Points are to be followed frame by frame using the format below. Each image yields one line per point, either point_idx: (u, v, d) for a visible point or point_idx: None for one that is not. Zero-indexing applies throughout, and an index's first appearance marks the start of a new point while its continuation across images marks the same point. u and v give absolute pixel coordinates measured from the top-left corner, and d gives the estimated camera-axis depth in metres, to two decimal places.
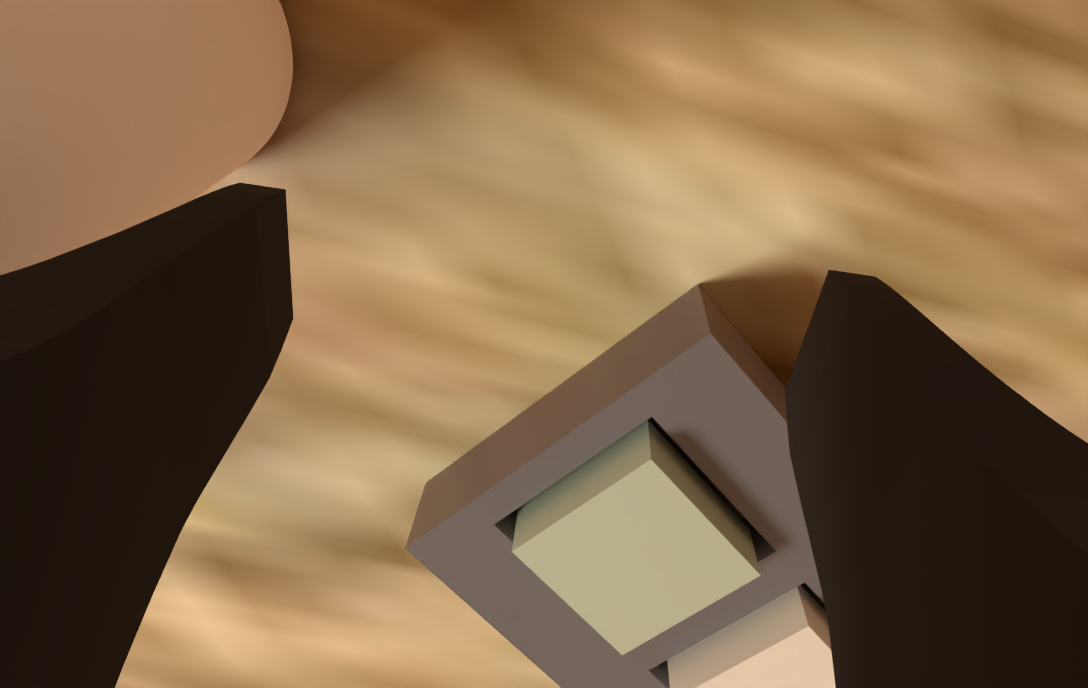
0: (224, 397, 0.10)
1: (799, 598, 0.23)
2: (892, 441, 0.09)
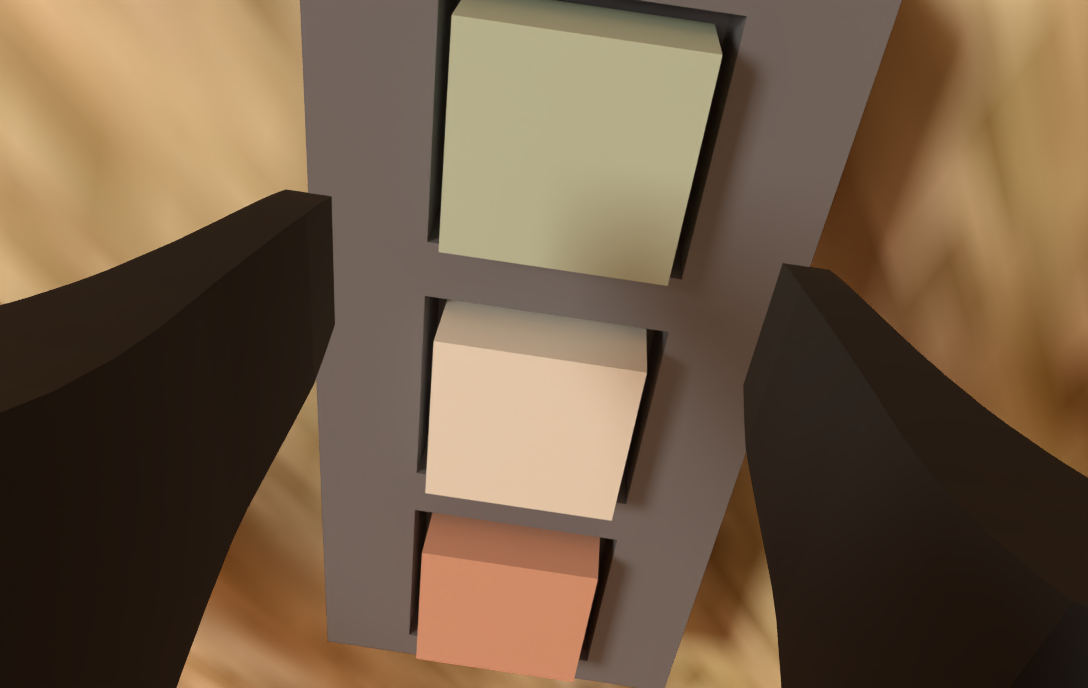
0: (274, 405, 0.10)
1: (645, 343, 0.19)
2: (834, 432, 0.09)
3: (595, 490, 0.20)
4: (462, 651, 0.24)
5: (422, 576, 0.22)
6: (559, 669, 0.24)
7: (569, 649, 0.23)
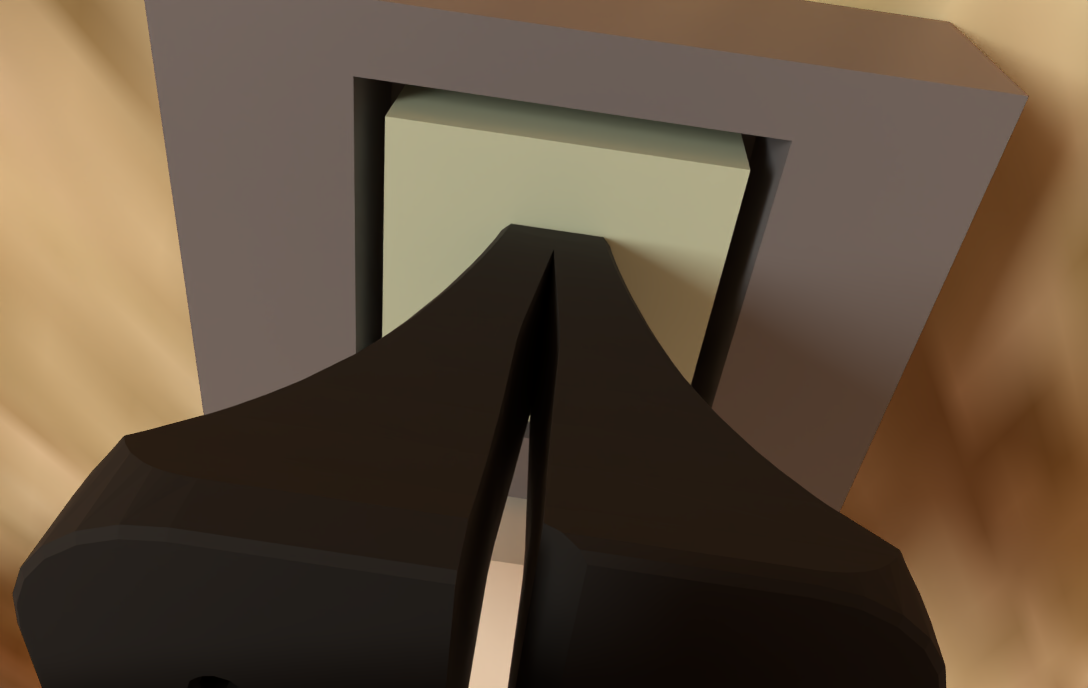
0: (517, 441, 0.10)
1: None
2: (549, 390, 0.09)
3: None
4: None
5: None
6: None
7: None
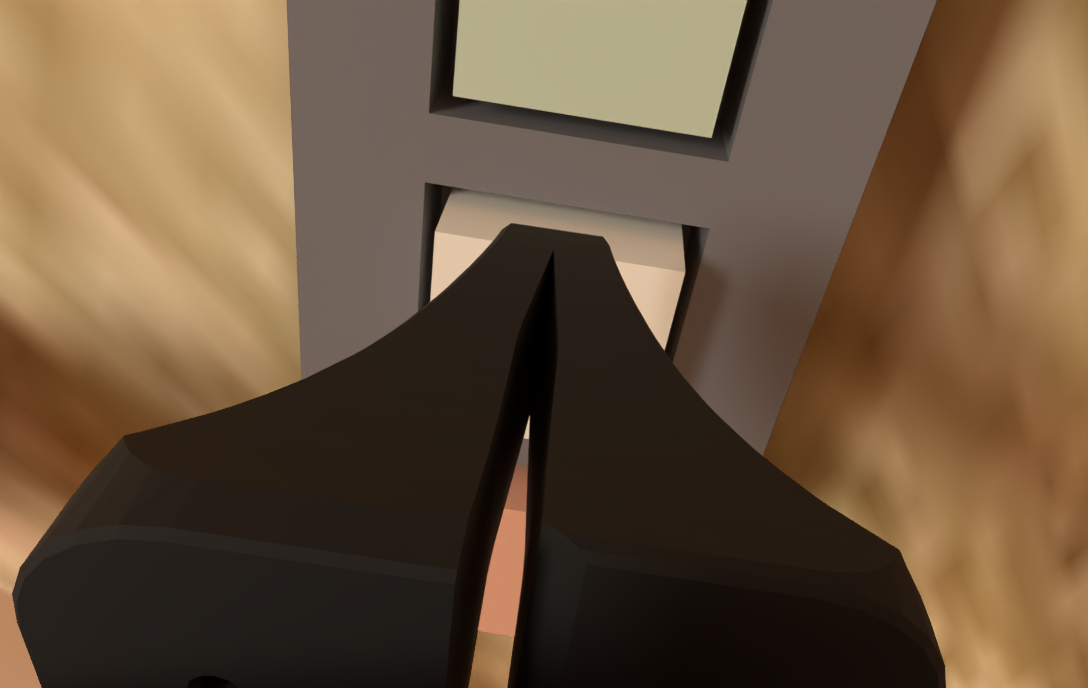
0: (516, 441, 0.10)
1: (681, 242, 0.16)
2: (549, 390, 0.09)
3: None
4: None
5: None
6: None
7: None
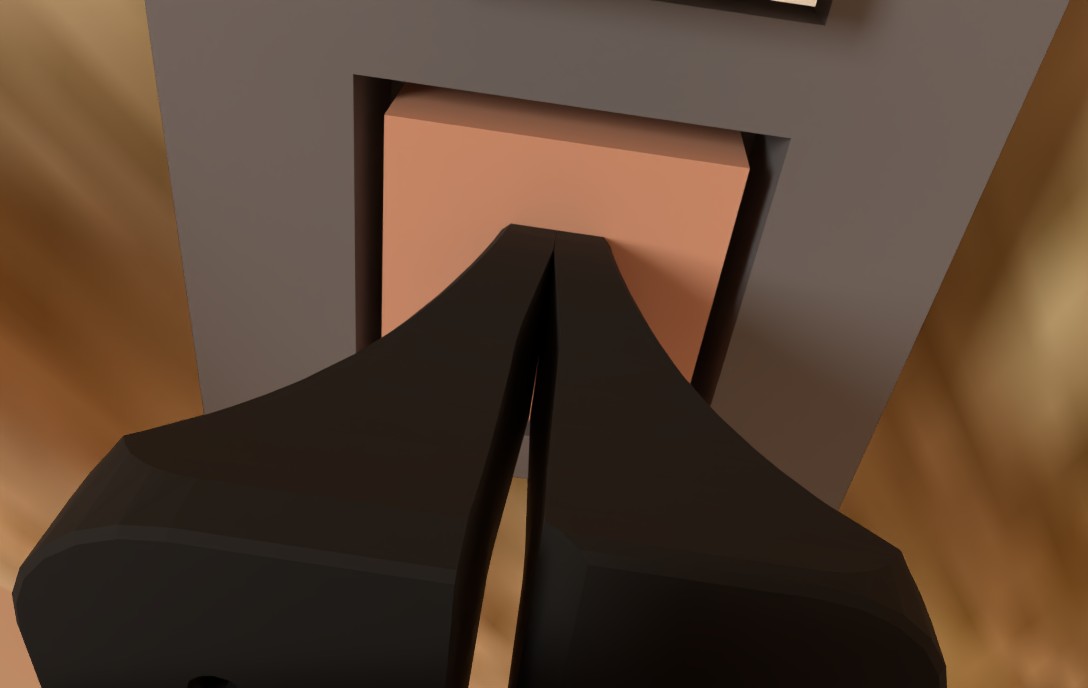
0: (516, 441, 0.10)
1: None
2: (550, 390, 0.09)
3: None
4: None
5: (387, 183, 0.11)
6: None
7: None
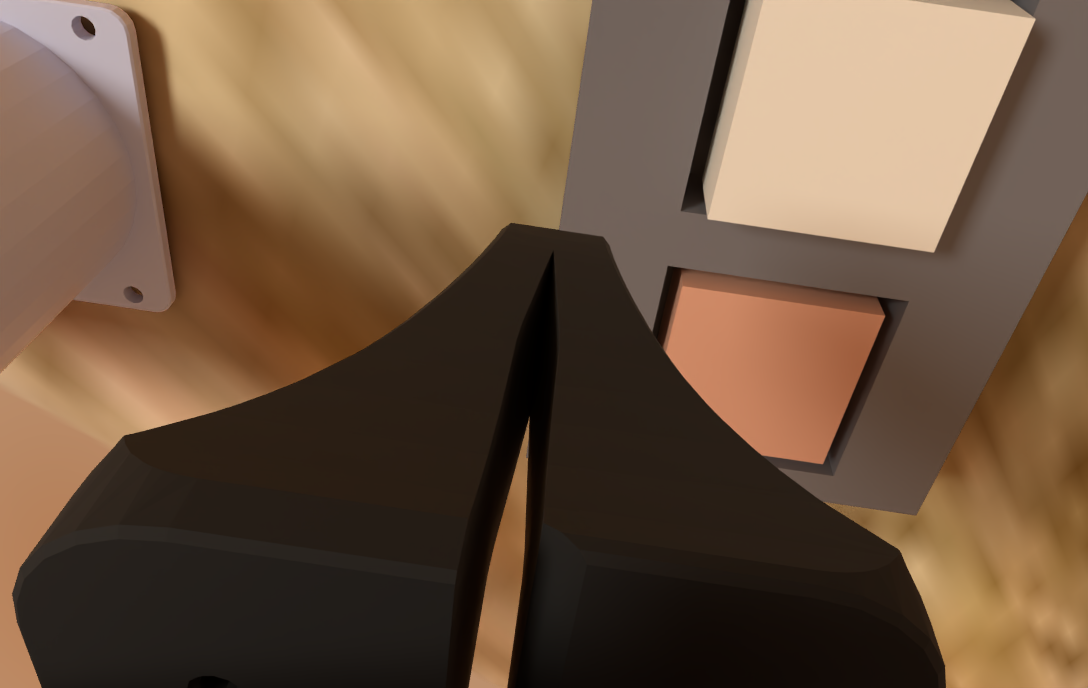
0: (516, 441, 0.10)
1: (1011, 2, 0.15)
2: (549, 390, 0.09)
3: (924, 206, 0.16)
4: None
5: (676, 320, 0.19)
6: (810, 447, 0.21)
7: (827, 418, 0.20)
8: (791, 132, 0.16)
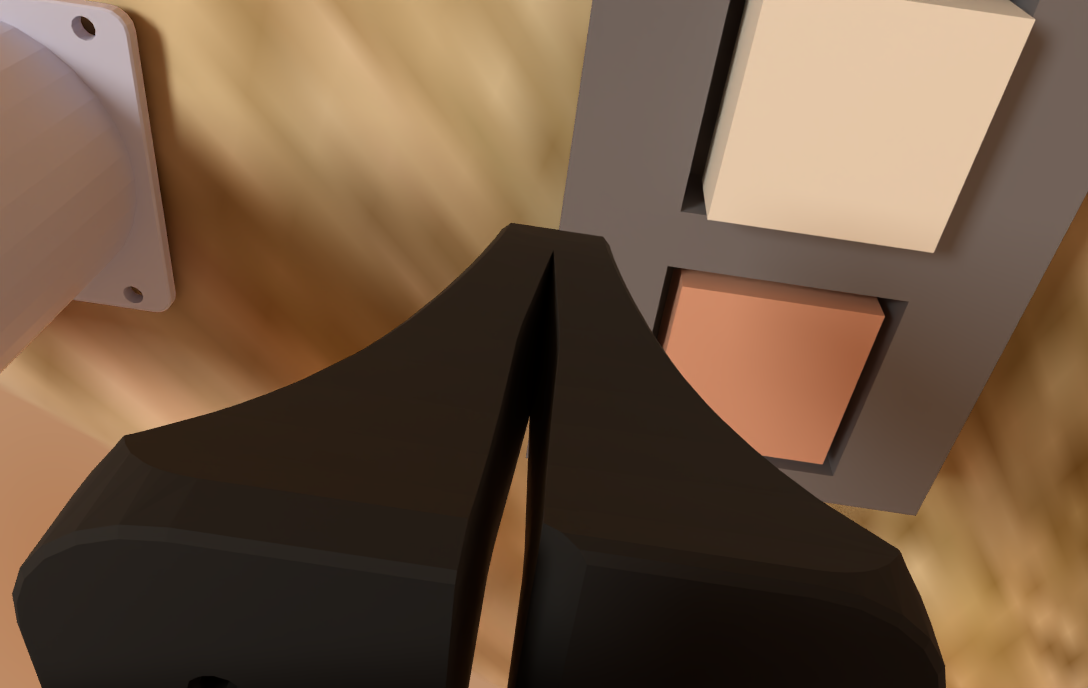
0: (516, 441, 0.10)
1: (1011, 3, 0.15)
2: (549, 390, 0.09)
3: (924, 207, 0.16)
4: None
5: (675, 320, 0.19)
6: (810, 447, 0.21)
7: (827, 419, 0.20)
8: (791, 132, 0.16)
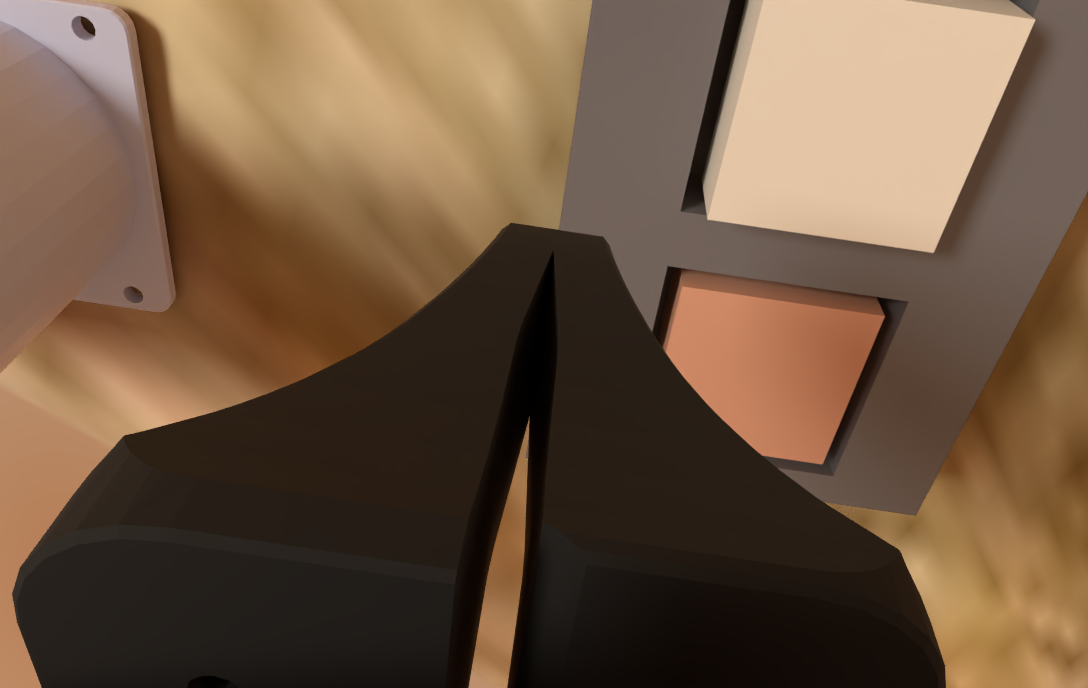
0: (516, 441, 0.10)
1: (1011, 3, 0.15)
2: (549, 390, 0.09)
3: (924, 207, 0.16)
4: None
5: (675, 320, 0.19)
6: (810, 447, 0.21)
7: (827, 419, 0.20)
8: (791, 132, 0.16)
